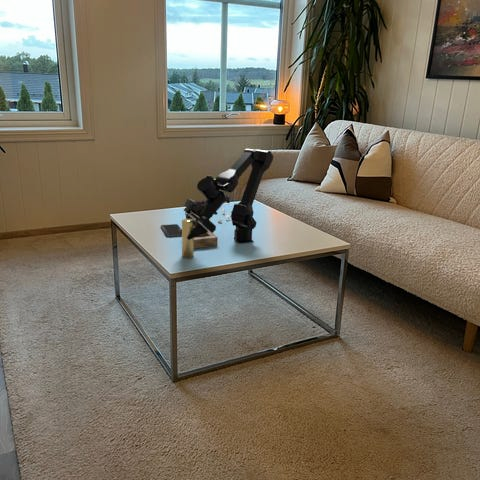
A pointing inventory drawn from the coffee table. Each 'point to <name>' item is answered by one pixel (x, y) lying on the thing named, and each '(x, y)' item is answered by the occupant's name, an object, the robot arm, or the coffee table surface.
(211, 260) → the coffee table surface
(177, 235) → the phone
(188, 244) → the peg
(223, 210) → the game piece set
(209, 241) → the socket block
